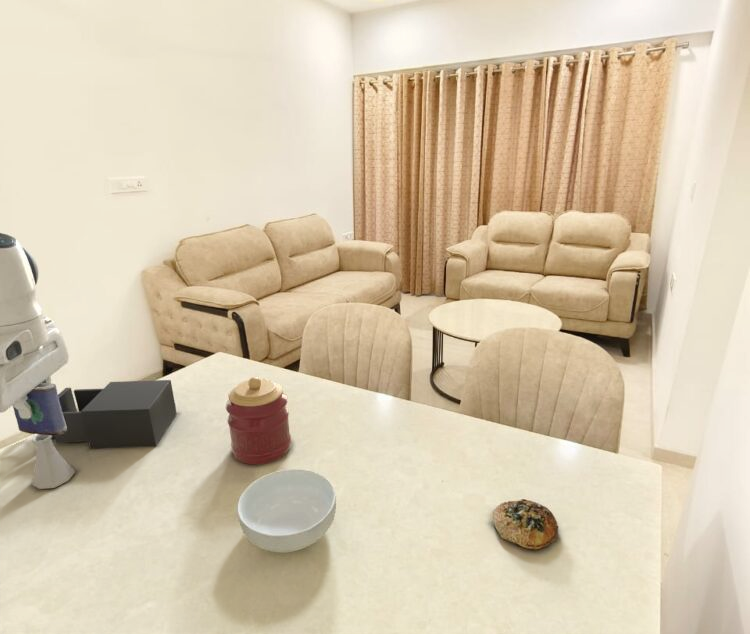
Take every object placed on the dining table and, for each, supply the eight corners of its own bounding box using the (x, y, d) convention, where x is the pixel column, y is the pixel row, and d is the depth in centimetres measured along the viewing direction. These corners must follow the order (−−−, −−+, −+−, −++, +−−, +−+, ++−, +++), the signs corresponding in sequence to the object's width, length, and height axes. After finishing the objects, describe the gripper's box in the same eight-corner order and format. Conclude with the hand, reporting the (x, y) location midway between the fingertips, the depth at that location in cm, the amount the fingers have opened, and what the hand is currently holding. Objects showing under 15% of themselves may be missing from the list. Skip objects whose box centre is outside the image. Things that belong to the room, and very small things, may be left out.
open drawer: (19, 446, 112) (10, 416, 109) (52, 416, 124) (44, 388, 122) (104, 443, 113) (96, 413, 110) (128, 413, 125) (122, 385, 122)
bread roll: (557, 511, 91) (559, 491, 89) (557, 563, 82) (559, 542, 79) (494, 501, 94) (495, 482, 92) (488, 550, 85) (488, 529, 83)
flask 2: (24, 487, 100) (10, 444, 96) (54, 466, 106) (42, 425, 103) (54, 492, 98) (41, 449, 95) (82, 470, 105) (71, 429, 101)
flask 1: (71, 429, 88) (56, 373, 84) (57, 437, 85) (41, 381, 81) (27, 423, 90) (11, 368, 86) (13, 431, 87) (-5, 376, 83)
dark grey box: (90, 448, 112) (80, 411, 109) (118, 416, 126) (110, 381, 122) (156, 446, 113) (148, 409, 110) (176, 413, 127) (170, 379, 123)
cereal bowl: (237, 510, 93) (232, 479, 90) (324, 491, 98) (322, 460, 95) (246, 581, 78) (241, 545, 75) (349, 553, 83) (347, 519, 80)
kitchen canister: (275, 427, 120) (268, 360, 114) (302, 451, 110) (296, 379, 104) (222, 446, 113) (212, 375, 106) (247, 474, 103) (237, 398, 97)
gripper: (32, 314, 90) (51, 382, 96) (-52, 360, 71) (-23, 442, 77) (68, 313, 91) (84, 382, 96) (-6, 359, 72) (19, 441, 77)
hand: (36, 409), depth 86 cm, fingers closed on flask 1, 3 cm apart
